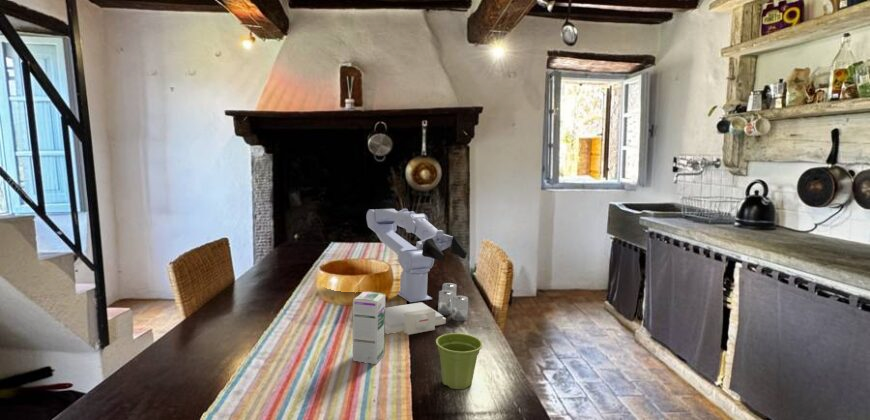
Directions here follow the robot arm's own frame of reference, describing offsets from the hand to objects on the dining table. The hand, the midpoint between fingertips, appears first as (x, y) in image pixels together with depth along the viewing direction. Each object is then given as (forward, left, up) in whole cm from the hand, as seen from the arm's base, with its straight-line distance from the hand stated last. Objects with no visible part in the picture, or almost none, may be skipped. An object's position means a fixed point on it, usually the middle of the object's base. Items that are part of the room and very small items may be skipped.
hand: (454, 257), depth 125 cm
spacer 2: (-5, +1, -18) cm, 19 cm away
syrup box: (+13, -31, -18) cm, 38 cm away
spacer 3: (+1, +2, -18) cm, 18 cm away
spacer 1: (-11, +6, -18) cm, 22 cm away
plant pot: (+31, -19, -18) cm, 40 cm away
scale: (-2, -13, -18) cm, 22 cm away
